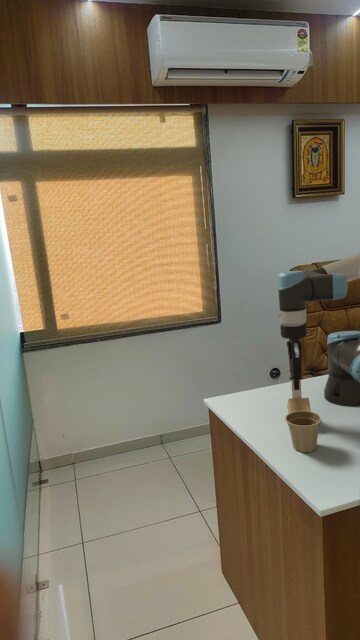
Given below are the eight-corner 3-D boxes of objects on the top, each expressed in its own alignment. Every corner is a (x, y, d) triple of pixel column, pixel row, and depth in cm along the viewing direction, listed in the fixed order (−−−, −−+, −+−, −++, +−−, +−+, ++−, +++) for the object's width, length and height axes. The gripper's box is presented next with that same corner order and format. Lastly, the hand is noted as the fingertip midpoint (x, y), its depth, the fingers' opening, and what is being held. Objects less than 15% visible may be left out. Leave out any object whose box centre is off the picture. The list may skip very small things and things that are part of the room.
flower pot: (298, 459, 108) (297, 428, 106) (280, 443, 117) (278, 415, 115) (329, 450, 110) (328, 420, 108) (309, 436, 119) (308, 408, 117)
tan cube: (306, 405, 130) (308, 397, 125) (310, 424, 126) (312, 416, 121) (287, 406, 130) (288, 398, 126) (289, 425, 127) (291, 417, 122)
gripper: (278, 319, 129) (281, 390, 134) (282, 329, 117) (286, 407, 121) (302, 318, 128) (305, 389, 133) (310, 327, 116) (313, 406, 120)
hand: (296, 398), depth 127 cm, fingers closed
